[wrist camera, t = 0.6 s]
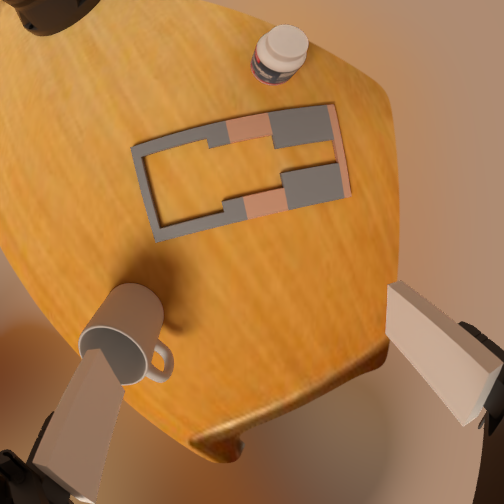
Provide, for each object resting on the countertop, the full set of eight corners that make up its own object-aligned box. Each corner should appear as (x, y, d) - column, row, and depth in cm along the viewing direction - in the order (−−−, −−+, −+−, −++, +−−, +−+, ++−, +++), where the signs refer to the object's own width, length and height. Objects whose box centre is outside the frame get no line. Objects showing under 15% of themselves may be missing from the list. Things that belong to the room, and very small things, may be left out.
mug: (97, 308, 36) (66, 352, 25) (129, 269, 35) (99, 309, 24) (159, 358, 39) (147, 411, 29) (195, 326, 38) (190, 379, 28)
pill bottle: (242, 59, 28) (249, 29, 20) (278, 44, 28) (295, 12, 20) (264, 93, 30) (279, 70, 22) (300, 76, 30) (324, 52, 21)
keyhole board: (132, 147, 30) (130, 147, 29) (331, 105, 31) (334, 104, 30) (157, 241, 34) (155, 242, 33) (348, 195, 35) (351, 196, 34)
